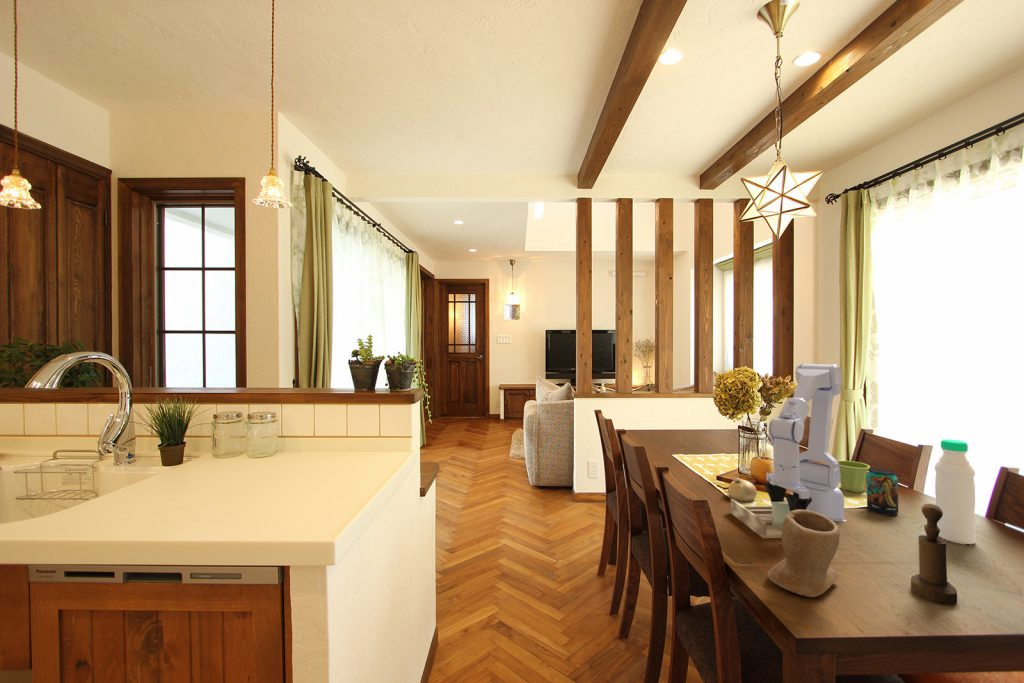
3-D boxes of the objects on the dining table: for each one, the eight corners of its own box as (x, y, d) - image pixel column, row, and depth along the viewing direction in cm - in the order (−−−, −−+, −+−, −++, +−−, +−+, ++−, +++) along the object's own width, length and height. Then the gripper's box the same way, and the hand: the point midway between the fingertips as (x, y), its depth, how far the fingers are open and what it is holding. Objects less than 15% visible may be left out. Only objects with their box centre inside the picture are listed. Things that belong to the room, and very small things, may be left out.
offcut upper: (751, 517, 119) (751, 513, 119) (789, 518, 118) (789, 514, 118) (758, 523, 115) (758, 519, 115) (797, 524, 114) (797, 520, 114)
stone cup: (825, 612, 79) (824, 532, 80) (759, 583, 89) (758, 511, 89) (857, 586, 88) (856, 513, 88) (793, 562, 98) (792, 496, 98)
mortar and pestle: (901, 586, 87) (900, 499, 88) (930, 585, 88) (929, 497, 88) (936, 606, 81) (935, 511, 81) (967, 604, 81) (965, 510, 81)
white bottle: (966, 536, 110) (965, 439, 110) (982, 548, 103) (980, 445, 104) (930, 531, 113) (929, 436, 113) (943, 542, 106) (942, 442, 107)
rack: (730, 515, 125) (730, 499, 125) (784, 514, 124) (784, 499, 124) (762, 540, 109) (762, 522, 109) (824, 539, 108) (823, 521, 108)
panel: (772, 532, 112) (771, 501, 112) (798, 532, 112) (798, 501, 112) (774, 534, 110) (774, 503, 110) (801, 534, 110) (801, 503, 110)
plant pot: (845, 493, 141) (844, 467, 141) (829, 484, 151) (828, 459, 151) (877, 495, 140) (876, 468, 140) (858, 485, 149) (858, 460, 149)
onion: (734, 494, 142) (734, 472, 142) (760, 500, 136) (760, 478, 136) (724, 500, 137) (724, 477, 137) (751, 506, 131) (751, 483, 131)
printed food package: (878, 515, 123) (877, 474, 123) (861, 506, 130) (860, 467, 130) (904, 516, 122) (904, 474, 122) (886, 507, 129) (885, 467, 129)
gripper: (755, 457, 118) (755, 506, 118) (788, 473, 104) (789, 528, 104) (780, 457, 118) (781, 506, 118) (817, 472, 104) (818, 528, 104)
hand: (786, 516), depth 111 cm, fingers open, 7 cm apart
